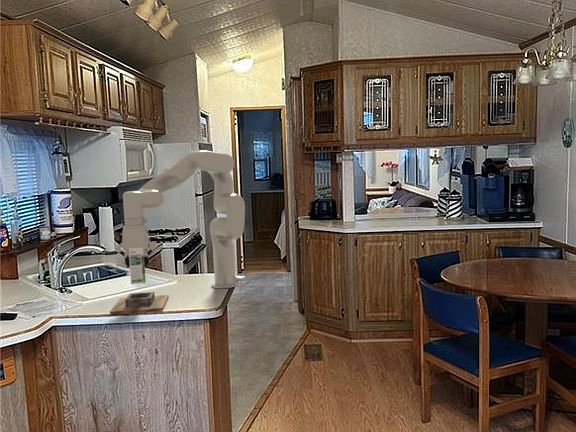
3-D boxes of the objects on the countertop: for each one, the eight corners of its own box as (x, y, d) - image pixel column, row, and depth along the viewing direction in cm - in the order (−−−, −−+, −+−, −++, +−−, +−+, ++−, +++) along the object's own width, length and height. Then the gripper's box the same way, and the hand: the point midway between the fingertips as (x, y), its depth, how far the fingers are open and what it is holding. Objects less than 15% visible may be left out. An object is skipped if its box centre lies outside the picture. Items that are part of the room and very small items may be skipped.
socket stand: (168, 297, 223) (168, 288, 223) (162, 310, 203) (162, 300, 203) (120, 301, 221) (119, 291, 220) (110, 314, 201) (109, 304, 201)
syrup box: (130, 284, 207) (128, 248, 206) (131, 281, 213) (128, 246, 211) (145, 283, 209) (143, 247, 207) (145, 280, 214) (143, 245, 213)
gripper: (157, 220, 213) (160, 263, 215) (114, 222, 211) (117, 266, 213) (155, 222, 205) (157, 267, 207) (110, 224, 204) (113, 269, 205)
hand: (137, 266), depth 210 cm, fingers closed on syrup box, 6 cm apart
